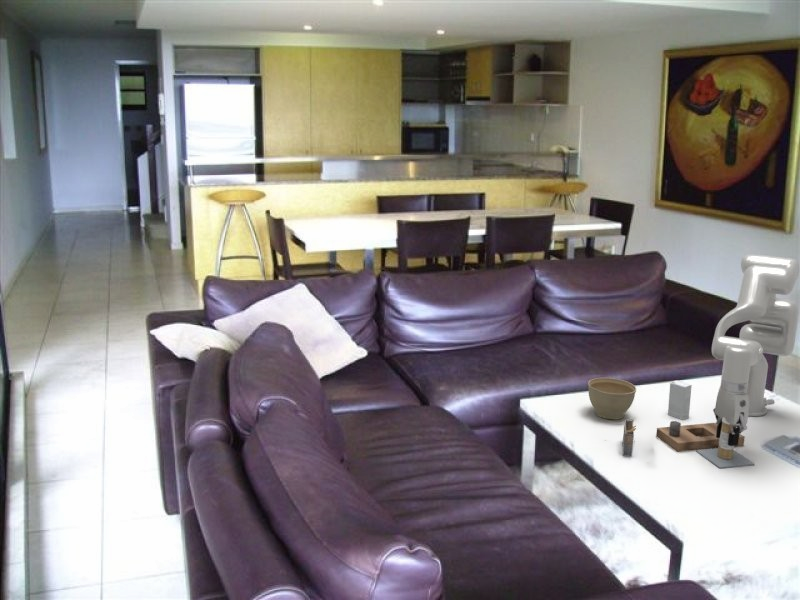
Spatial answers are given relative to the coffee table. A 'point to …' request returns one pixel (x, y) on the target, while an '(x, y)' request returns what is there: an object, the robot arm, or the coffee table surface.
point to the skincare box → (679, 399)
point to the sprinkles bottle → (725, 441)
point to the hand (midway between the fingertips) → (726, 440)
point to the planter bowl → (611, 397)
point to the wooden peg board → (691, 436)
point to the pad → (724, 463)
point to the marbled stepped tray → (628, 437)
